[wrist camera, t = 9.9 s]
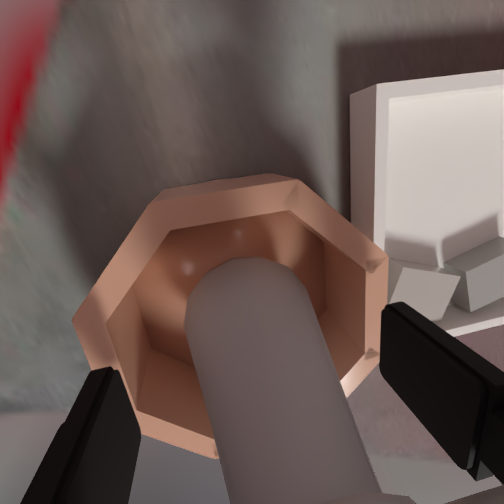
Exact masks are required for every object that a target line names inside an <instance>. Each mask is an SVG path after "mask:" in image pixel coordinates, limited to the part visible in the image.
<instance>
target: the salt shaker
mask: <svg viewBox="0 0 504 504" xmlns="http://www.w3.org/2000/svg"><path fill="white" fill-rule="evenodd" d="M184 330H185V333H186V337H187V340H188V344H189V348H190V351H191V355H192V358H193V362H194V366H195V369H196V373H197V376H198V380H199V384H200V387H201V391H202V394H203V398H204V402H205V405H206V409H207V412H208V416H209V420H210V423H211V427H212V431H213V435H214V439H215V443H216V448H217V452H218V456H219V460H220V464H221V468H222V472H223V476H224V480H225V484H226V488H227V492H228V496H229V500H230V504H416V503H415V502H414V501H413V500H412V499H411V498H410V497H408V496H401V495H392V494H384V493H382V490H381V488H380V485H379V482H378V480H377V477H376V475H375V472H374V470H373V467H372V465H371V462H370V460H369V457H368V455H367V452H366V449H365V447H364V444H363V442H362V439H361V437H360V434H359V432H358V429H357V426H356V423H355V421H354V418H353V415H352V412H351V410H350V407H349V404H348V401H347V399H346V396H345V393H344V391H343V388H342V385H341V382H340V380H339V377H338V374H337V371H336V369H335V366H334V363H333V360H332V358H331V355H330V352H329V349H328V347H327V344H326V341H325V339H324V336H323V333H322V330H321V328H320V325H319V322H318V319H317V317H316V314H315V311H314V308H313V306H312V303H311V300H310V297H309V295H308V292H307V289H306V287H305V286H304V285H303V284H302V282H301V281H300V280H299V279H298V277H297V276H296V275H295V274H294V273H293V271H292V270H291V269H290V268H289V267H287V266H285V265H283V264H280V263H277V262H274V261H272V260H269V259H266V258H263V257H241V258H231V259H229V260H227V261H226V262H224V263H222V264H220V265H219V266H217V267H215V268H213V269H212V270H210V271H208V272H206V274H205V275H204V276H203V277H202V279H201V280H200V281H199V283H198V284H197V285H196V286H195V288H194V289H193V290H192V292H191V293H190V294H189V297H188V299H187V306H186V313H185V319H184Z"/></svg>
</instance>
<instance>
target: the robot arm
mask: <svg viewBox="0 0 504 504" xmlns="http://www.w3.org/2000/svg"><path fill="white" fill-rule="evenodd" d="M379 368H380V372H381V374H382V376H383V378H384V379H385V380H386V381H387V382H388V384H389V385H390V386H391V387H392V388H393V390H394V391H395V392H396V393H397V394H398V396H399V397H400V398H401V399H402V400H403V402H404V403H405V404H406V405H407V406H408V407H409V409H410V410H411V411H412V412H413V413H414V415H415V416H416V417H417V418H418V419H419V421H420V422H421V423H422V424H423V425H424V427H425V428H426V429H427V430H428V431H429V432H430V434H431V435H432V436H433V437H434V438H435V440H436V441H437V442H438V443H439V444H440V446H441V447H442V448H443V449H444V450H445V452H446V453H447V454H448V455H449V456H450V457H451V459H452V460H453V461H454V462H455V463H456V464H457V466H458V467H460V468H461V469H464V470H465V469H466V470H467V472H468V473H469V474H470V475H471V476H472V477H473V479H474V480H475V481H479V480H481V479H485V478H488V477H491V476H493V474H494V475H495V477H496V478H497V479H498V480H499V481H500V482H501V483H502V486H499V487H496V488H493V489H489V490H486V491H482V492H479V493H476V494H473V495H470V496H467V497H464V498H461V499H458V500H454V501H452V502H448V503H445V504H504V372H503V371H501V370H500V369H498V368H497V367H496V366H494V365H493V364H491V363H490V362H489V361H487V360H486V359H484V358H483V357H481V356H480V355H479V354H477V353H476V352H474V351H473V350H471V349H470V348H469V347H467V346H466V345H464V344H463V343H462V342H460V341H459V340H457V339H456V338H454V337H453V336H452V335H450V334H449V333H447V332H446V331H445V330H443V329H442V328H440V327H439V326H437V325H436V324H435V323H433V322H432V321H430V320H429V319H428V318H426V317H425V316H423V315H422V314H420V313H419V312H418V311H416V310H415V309H413V308H412V307H410V306H409V305H408V304H406V303H405V302H403V301H400V302H395V303H391V304H387V305H385V307H384V309H383V310H382V311H381V331H380V363H379ZM140 441H141V429H140V426H139V423H138V421H137V418H136V415H135V412H134V410H133V407H132V404H131V401H130V399H129V396H128V393H127V390H126V388H125V385H124V382H123V380H122V377H121V374H120V372H119V370H117V369H116V370H114V369H113V368H112V367H111V366H109V367H104V368H100V369H95V370H92V371H90V373H89V375H88V377H87V379H86V381H85V383H84V385H83V387H82V389H81V391H80V393H79V395H78V397H77V399H76V401H75V403H74V405H73V407H72V409H71V411H70V413H69V415H68V417H67V419H66V421H65V422H64V423H63V424H62V425H61V426H60V428H59V429H58V431H57V433H56V435H55V437H54V439H53V441H52V443H51V444H50V446H49V448H48V451H47V452H46V454H45V456H44V458H43V460H42V462H41V464H40V466H39V468H38V470H37V472H36V474H35V476H34V478H33V480H32V482H31V484H30V486H29V488H28V490H27V492H26V493H25V495H24V497H23V499H22V501H21V503H20V504H128V501H129V496H130V491H131V486H132V481H133V476H134V471H135V466H136V461H137V456H138V451H139V446H140Z"/></svg>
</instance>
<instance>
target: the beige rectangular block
mask: <svg viewBox="0 0 504 504" xmlns="http://www.w3.org/2000/svg"><path fill="white" fill-rule="evenodd" d="M460 277H461V276H459V275H457V274H454V273H452V272H450V271H448V270H446V269H443V268H441V267H439V266H433V265H427V264H421V263H415V262H409V261H403V260H398V259H392V258H389V265H388V291H387V304H391V303H395V302H400V301H403V302H405V303H406V304H408V305H409V306H410V307H412V308H413V309H415V310H416V311H418V312H419V313H420V314H422V315H423V316H425V317H426V318H428V319H429V320H431V321H441V319H442V317H443V315H444V313H445V310H446V308H447V306H448V304H449V302H450V299H451V297H452V295H453V293H454V291H455V288H456V286H457V284H458V282H459V280H460Z"/></svg>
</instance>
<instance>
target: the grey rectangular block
mask: <svg viewBox="0 0 504 504" xmlns="http://www.w3.org/2000/svg"><path fill="white" fill-rule="evenodd" d="M443 265H444V269H446V270H448V271H450V272H452V273H454V274H457V275H459V276H461V277H460V280H459V282H458V284H457V286H456V288H455V291H454V293H453V295H452V297H451V299H450V301H451V302H453V303H455V304H457V305H458V306H460V307H462V308H464V309H465V310H467V311H469V312H473V311H475V310H477V309H479V308H481V307H483V306H485V305H487V304H489V303H491V302H493V301H495V300H498V299H500V298H502V297H504V238H503V237H499V236H498V237H496V238H494V239H492V240H490V241H488V242H486V243H483V244H481V245H479V246H477V247H475V248H473V249H471V250H469V251H467V252H465V253H462V254H460V255H458V256H456V257H454V258H452V259H450V260H448V261H446V262H443Z"/></svg>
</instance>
